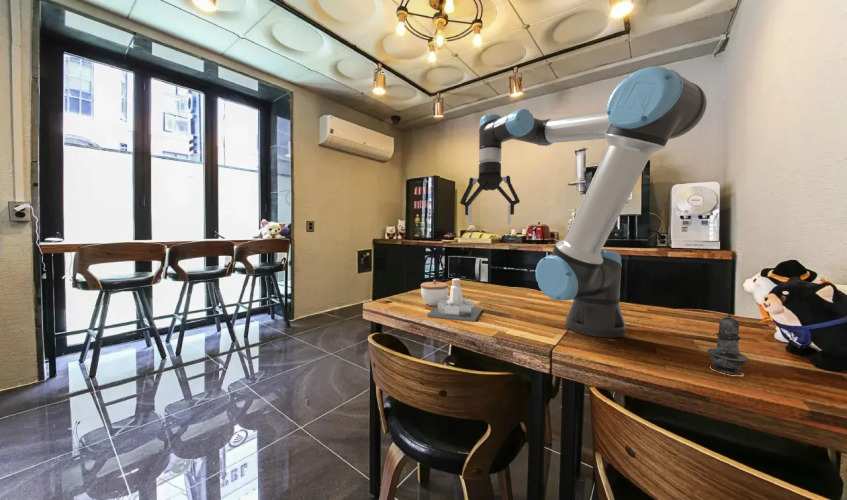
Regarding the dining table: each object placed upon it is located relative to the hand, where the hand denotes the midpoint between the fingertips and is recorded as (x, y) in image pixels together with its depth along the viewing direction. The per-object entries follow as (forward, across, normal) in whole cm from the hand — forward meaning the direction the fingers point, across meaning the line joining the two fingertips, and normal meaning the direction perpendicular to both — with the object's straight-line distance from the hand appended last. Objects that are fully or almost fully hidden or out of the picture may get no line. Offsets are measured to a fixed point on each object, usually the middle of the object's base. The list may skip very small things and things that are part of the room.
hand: (488, 224), depth 106 cm
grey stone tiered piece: (+31, -52, +31) cm, 68 cm away
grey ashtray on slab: (+31, +10, +7) cm, 33 cm away
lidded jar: (+31, +21, -4) cm, 38 cm away
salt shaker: (+30, +10, +7) cm, 32 cm away
